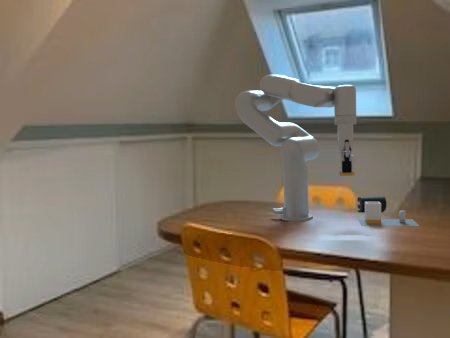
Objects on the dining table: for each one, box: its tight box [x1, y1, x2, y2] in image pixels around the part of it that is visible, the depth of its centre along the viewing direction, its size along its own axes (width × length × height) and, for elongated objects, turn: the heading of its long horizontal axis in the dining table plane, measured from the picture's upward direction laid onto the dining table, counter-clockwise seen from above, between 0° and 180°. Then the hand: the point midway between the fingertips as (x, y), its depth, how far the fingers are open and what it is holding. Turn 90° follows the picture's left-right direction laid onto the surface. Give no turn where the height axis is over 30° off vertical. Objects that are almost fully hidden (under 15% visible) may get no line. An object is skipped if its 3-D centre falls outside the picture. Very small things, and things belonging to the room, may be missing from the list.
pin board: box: [357, 210, 420, 227], centre depth 179 cm, size 19×12×6 cm, turn 81°
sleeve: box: [338, 154, 355, 177], centre depth 181 cm, size 5×5×7 cm
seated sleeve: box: [364, 202, 382, 224], centre depth 180 cm, size 5×5×7 cm
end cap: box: [356, 195, 387, 213], centre depth 207 cm, size 10×7×7 cm
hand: (346, 171), depth 182 cm, fingers closed on sleeve, 5 cm apart
